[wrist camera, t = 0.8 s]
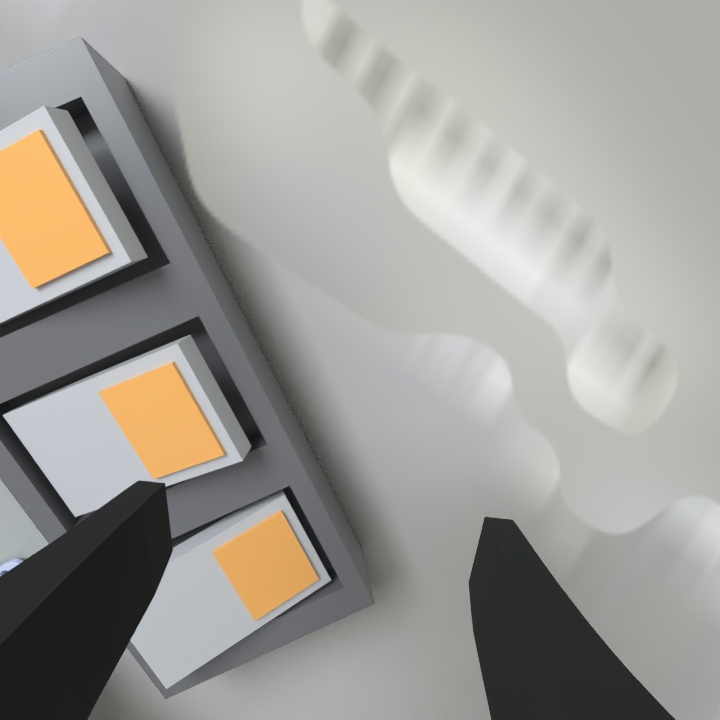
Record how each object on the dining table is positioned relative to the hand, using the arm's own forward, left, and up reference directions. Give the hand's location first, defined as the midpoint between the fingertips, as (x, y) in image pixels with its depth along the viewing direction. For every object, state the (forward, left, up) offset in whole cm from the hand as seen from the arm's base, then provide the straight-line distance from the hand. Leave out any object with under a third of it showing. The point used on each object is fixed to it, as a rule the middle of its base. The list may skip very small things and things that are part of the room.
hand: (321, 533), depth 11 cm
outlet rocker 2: (-8, -8, -11) cm, 16 cm away
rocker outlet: (-8, +10, -11) cm, 17 cm away
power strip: (-8, +1, -16) cm, 18 cm away
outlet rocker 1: (-8, +1, -11) cm, 14 cm away
